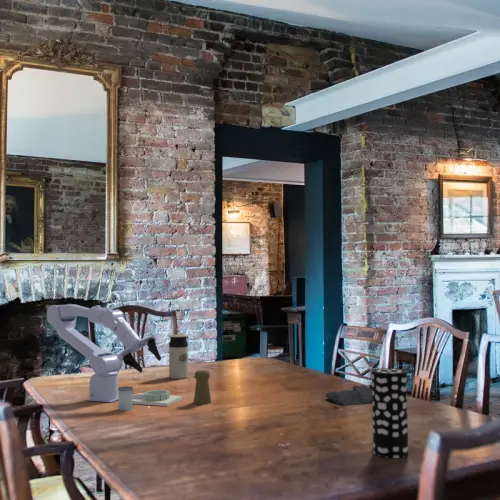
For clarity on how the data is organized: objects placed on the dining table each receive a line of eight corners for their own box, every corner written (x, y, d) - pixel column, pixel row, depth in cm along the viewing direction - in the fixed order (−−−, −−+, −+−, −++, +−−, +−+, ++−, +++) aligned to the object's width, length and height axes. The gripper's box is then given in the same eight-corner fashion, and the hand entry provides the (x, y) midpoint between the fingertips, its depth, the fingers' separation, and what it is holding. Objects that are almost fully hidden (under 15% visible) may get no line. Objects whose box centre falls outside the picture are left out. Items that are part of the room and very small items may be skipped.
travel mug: (166, 376, 259) (166, 334, 260) (184, 375, 263) (184, 333, 263) (172, 379, 252) (172, 336, 253) (190, 378, 256) (190, 335, 256)
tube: (115, 410, 197) (115, 388, 197) (123, 407, 202) (122, 386, 202) (127, 411, 196) (127, 389, 196) (135, 408, 200) (135, 386, 200)
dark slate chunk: (320, 399, 214) (319, 385, 214) (374, 394, 221) (373, 381, 222) (341, 408, 199) (341, 393, 200) (398, 402, 207) (397, 388, 207)
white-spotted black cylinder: (369, 448, 152) (367, 368, 153) (401, 447, 153) (400, 367, 153) (379, 458, 144) (377, 374, 144) (413, 457, 144) (411, 373, 145)
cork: (208, 404, 204) (208, 371, 205) (191, 404, 205) (191, 371, 206) (213, 400, 210) (213, 369, 211) (196, 400, 211) (196, 368, 212)
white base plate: (120, 402, 208) (120, 394, 209) (137, 395, 220) (137, 387, 220) (166, 406, 202) (166, 397, 203) (182, 399, 214) (182, 390, 214)
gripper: (110, 341, 203) (133, 370, 198) (145, 320, 211) (169, 348, 205) (109, 351, 208) (132, 380, 203) (144, 331, 216) (167, 358, 211)
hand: (150, 365), depth 205 cm, fingers open, 7 cm apart
